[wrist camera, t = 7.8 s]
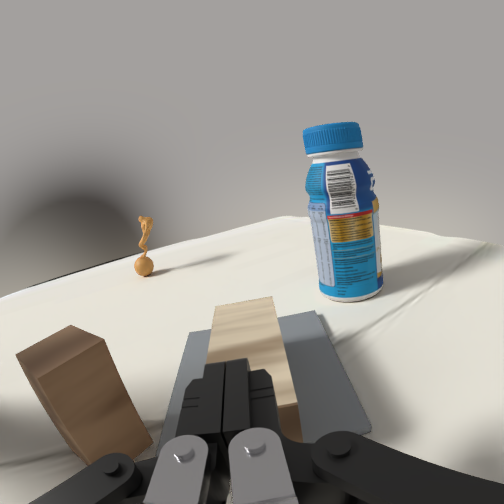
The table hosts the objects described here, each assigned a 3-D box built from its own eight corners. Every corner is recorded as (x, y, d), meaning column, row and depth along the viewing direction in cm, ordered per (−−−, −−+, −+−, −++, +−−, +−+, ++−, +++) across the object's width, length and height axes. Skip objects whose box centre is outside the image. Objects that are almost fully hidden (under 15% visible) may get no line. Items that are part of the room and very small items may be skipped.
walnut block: (72, 450, 18) (15, 354, 16) (115, 418, 22) (70, 324, 20) (105, 481, 15) (37, 378, 13) (153, 442, 19) (104, 339, 17)
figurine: (138, 272, 66) (124, 218, 63) (165, 265, 67) (152, 211, 64) (135, 283, 58) (119, 222, 55) (165, 276, 60) (150, 214, 57)
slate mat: (370, 431, 17) (371, 425, 17) (158, 462, 17) (155, 457, 17) (315, 315, 34) (314, 310, 34) (190, 336, 35) (189, 332, 34)
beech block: (298, 404, 14) (272, 296, 28) (197, 419, 14) (215, 306, 28) (305, 461, 15) (280, 344, 29) (221, 473, 15) (227, 353, 29)
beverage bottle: (305, 295, 40) (279, 133, 35) (346, 273, 44) (326, 130, 39) (358, 310, 33) (335, 119, 28) (396, 282, 38) (379, 120, 33)
